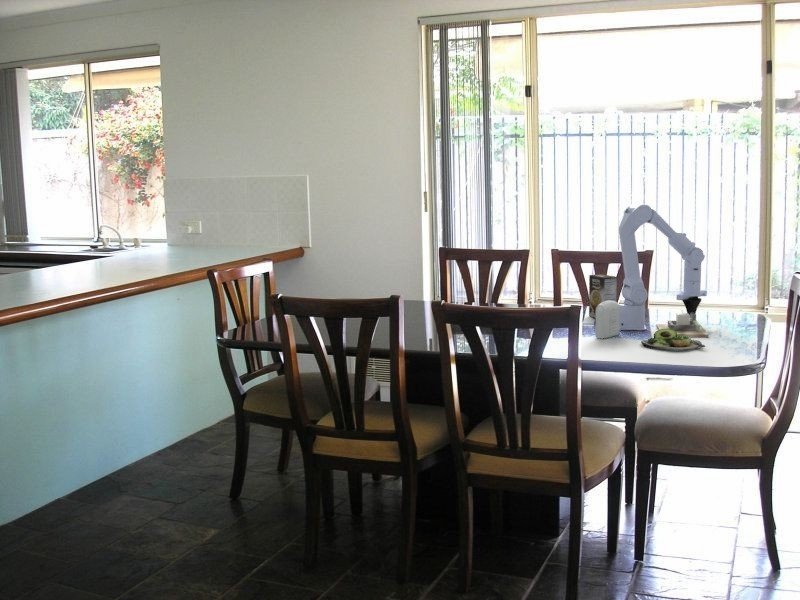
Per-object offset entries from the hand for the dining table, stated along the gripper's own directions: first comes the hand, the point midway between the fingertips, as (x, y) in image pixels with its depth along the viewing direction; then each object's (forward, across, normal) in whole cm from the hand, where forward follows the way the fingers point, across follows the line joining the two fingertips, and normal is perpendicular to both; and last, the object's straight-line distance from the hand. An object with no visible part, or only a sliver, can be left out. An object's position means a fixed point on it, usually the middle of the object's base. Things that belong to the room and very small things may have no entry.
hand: (691, 317), depth 311 cm
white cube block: (+2, +10, +4) cm, 11 cm away
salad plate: (+3, +32, +16) cm, 36 cm away
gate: (+2, +6, +6) cm, 9 cm away
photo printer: (+3, +36, -7) cm, 37 cm away
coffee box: (+3, +10, -33) cm, 35 cm away
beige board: (+3, +7, +1) cm, 8 cm away
